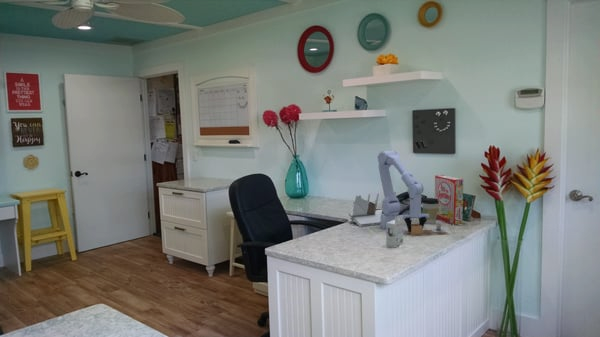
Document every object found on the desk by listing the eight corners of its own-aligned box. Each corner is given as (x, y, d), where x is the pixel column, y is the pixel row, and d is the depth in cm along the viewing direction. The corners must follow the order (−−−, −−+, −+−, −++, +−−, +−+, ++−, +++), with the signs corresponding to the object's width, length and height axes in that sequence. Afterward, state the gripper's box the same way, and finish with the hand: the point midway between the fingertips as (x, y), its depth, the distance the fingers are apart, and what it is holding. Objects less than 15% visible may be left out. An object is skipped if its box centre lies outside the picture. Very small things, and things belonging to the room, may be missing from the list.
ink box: (394, 242, 224) (394, 213, 222) (403, 244, 221) (403, 214, 219) (385, 246, 217) (385, 216, 216) (394, 247, 214) (395, 217, 213)
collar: (412, 234, 234) (412, 226, 234) (408, 232, 240) (408, 224, 239) (422, 234, 235) (422, 225, 234) (418, 231, 240) (418, 223, 240)
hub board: (412, 238, 231) (412, 228, 230) (403, 233, 243) (403, 223, 242) (450, 236, 234) (450, 226, 233) (440, 231, 246) (440, 221, 245)
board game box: (433, 218, 279) (434, 175, 276) (442, 217, 280) (443, 174, 278) (453, 225, 259) (454, 179, 256) (463, 224, 261) (464, 178, 258)
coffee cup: (423, 222, 269) (424, 197, 267) (440, 223, 264) (441, 198, 262) (419, 225, 260) (419, 199, 259) (436, 227, 255) (436, 201, 254)
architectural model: (342, 215, 277) (347, 184, 268) (383, 211, 287) (389, 181, 279) (357, 232, 260) (363, 199, 251) (400, 227, 270) (407, 196, 262)
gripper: (404, 208, 231) (404, 234, 232) (431, 207, 233) (431, 232, 234) (400, 205, 238) (399, 230, 239) (426, 204, 240) (425, 229, 241)
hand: (415, 231), depth 237 cm, fingers closed on collar, 6 cm apart
